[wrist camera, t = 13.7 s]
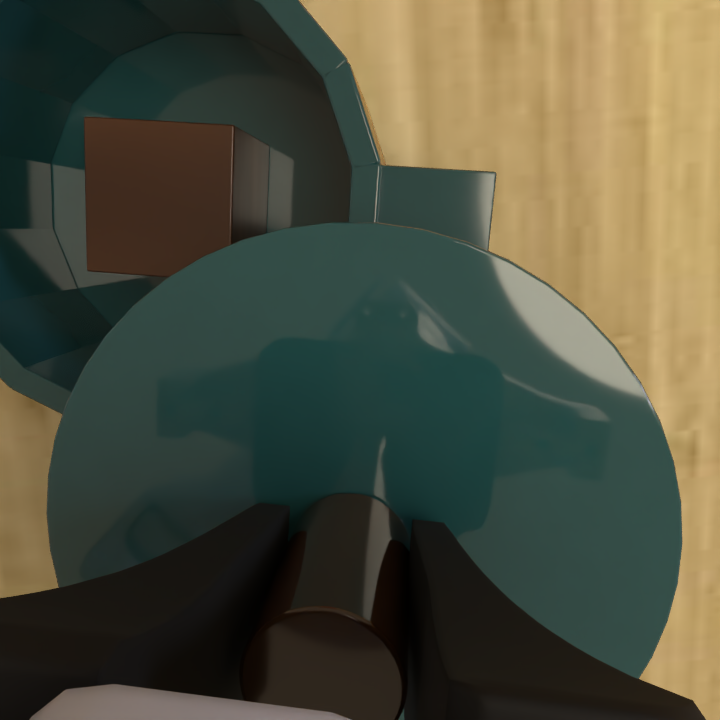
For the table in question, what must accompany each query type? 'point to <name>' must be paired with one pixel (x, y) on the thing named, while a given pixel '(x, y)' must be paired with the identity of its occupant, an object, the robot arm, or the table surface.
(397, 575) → the lid
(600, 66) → the table surface
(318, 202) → the pot
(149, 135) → the block
